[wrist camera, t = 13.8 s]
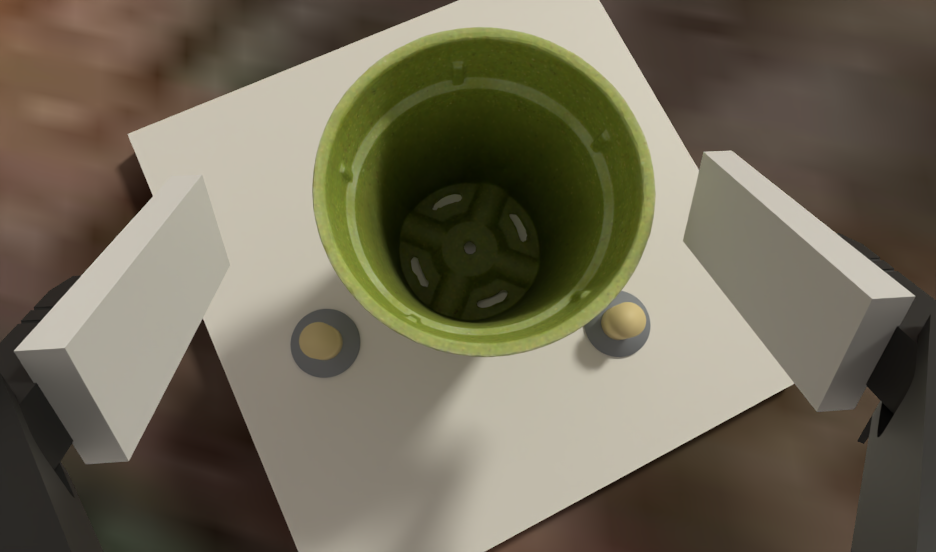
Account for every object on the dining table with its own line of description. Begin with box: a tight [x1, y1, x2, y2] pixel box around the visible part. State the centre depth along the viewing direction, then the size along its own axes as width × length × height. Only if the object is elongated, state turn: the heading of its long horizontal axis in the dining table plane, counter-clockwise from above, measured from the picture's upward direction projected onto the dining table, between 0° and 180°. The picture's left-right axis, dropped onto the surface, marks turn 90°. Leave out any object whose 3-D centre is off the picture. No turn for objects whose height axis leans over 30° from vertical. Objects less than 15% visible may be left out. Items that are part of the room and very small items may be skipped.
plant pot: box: [312, 27, 656, 357], centre depth 19 cm, size 9×9×9 cm
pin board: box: [128, 0, 794, 552], centre depth 23 cm, size 22×22×3 cm
